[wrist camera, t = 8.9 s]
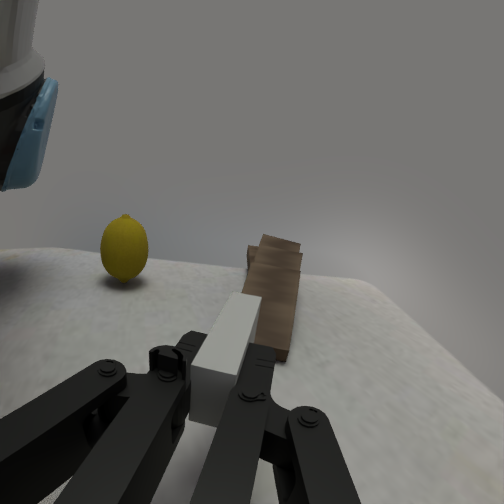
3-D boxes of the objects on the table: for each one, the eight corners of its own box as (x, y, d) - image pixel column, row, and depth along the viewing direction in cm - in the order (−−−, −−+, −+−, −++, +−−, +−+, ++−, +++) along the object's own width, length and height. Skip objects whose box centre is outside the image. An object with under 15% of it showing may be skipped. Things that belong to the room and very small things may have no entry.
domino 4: (226, 338, 24) (251, 262, 32) (225, 349, 25) (250, 274, 33) (289, 350, 24) (300, 270, 32) (285, 361, 25) (298, 282, 33)
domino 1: (250, 267, 39) (248, 245, 48) (248, 279, 39) (246, 255, 49) (290, 272, 39) (280, 249, 49) (288, 284, 39) (279, 259, 49)
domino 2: (243, 288, 34) (263, 234, 41) (241, 298, 35) (261, 243, 42) (289, 300, 33) (300, 243, 41) (285, 309, 34) (297, 253, 42)
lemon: (103, 272, 36) (105, 208, 34) (146, 275, 38) (150, 211, 36) (97, 291, 31) (97, 218, 29) (147, 293, 33) (150, 220, 31)
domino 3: (237, 309, 30) (260, 244, 37) (237, 319, 31) (259, 255, 38) (290, 320, 29) (302, 253, 36) (287, 330, 30) (300, 263, 37)
